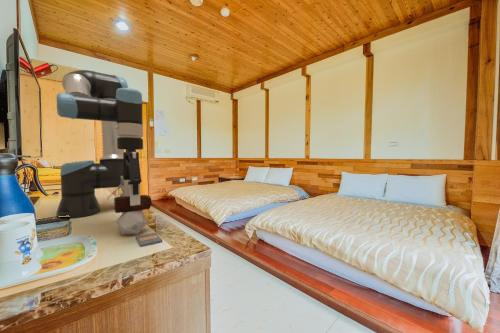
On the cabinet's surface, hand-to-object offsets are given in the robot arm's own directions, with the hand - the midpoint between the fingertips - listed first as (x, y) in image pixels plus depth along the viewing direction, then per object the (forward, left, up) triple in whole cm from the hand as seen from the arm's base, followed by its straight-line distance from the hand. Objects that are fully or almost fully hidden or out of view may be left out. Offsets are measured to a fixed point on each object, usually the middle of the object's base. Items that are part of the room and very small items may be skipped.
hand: (131, 201), depth 73 cm
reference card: (+10, +3, -11) cm, 15 cm away
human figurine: (-17, 0, -11) cm, 20 cm away
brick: (0, 0, -3) cm, 3 cm away
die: (0, 0, -11) cm, 11 cm away
